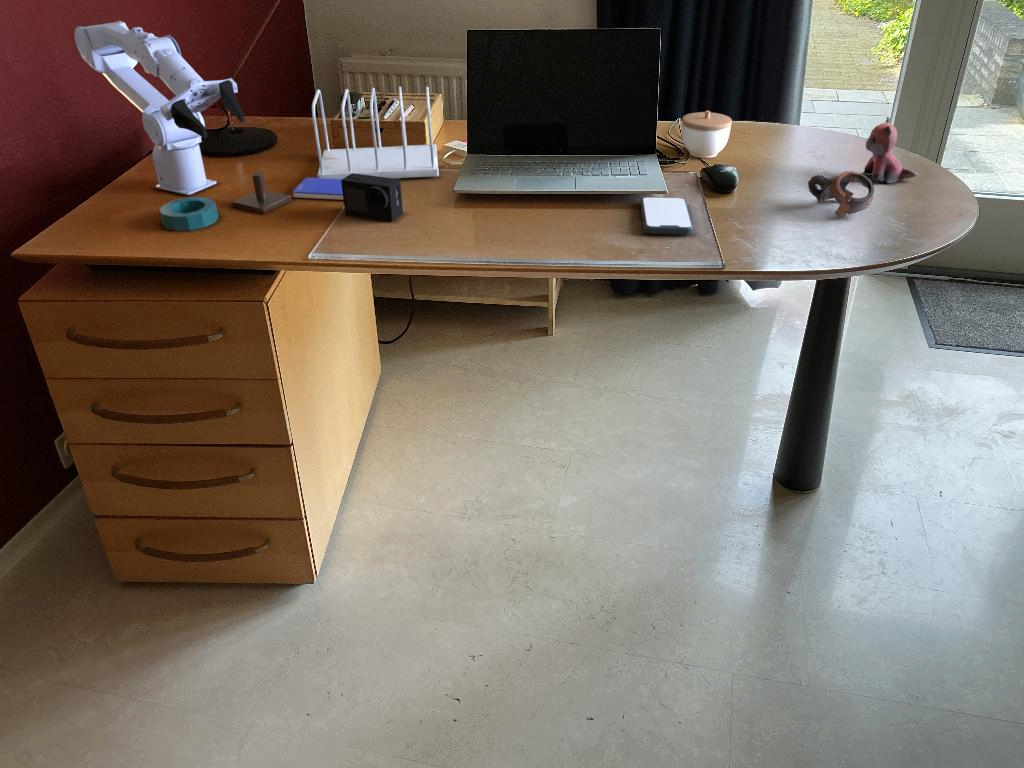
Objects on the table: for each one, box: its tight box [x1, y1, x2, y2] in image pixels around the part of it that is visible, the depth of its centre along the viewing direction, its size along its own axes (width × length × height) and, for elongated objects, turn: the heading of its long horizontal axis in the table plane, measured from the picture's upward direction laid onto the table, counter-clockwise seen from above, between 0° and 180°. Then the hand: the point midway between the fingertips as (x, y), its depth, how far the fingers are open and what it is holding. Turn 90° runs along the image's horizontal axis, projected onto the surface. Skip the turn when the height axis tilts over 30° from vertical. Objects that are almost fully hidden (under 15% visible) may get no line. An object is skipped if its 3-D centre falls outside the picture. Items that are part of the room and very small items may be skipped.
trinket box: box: [681, 110, 733, 159], centre depth 190 cm, size 11×11×9 cm
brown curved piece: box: [807, 170, 875, 219], centre depth 162 cm, size 12×9×8 cm
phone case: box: [640, 196, 694, 236], centre depth 160 cm, size 9×2×16 cm
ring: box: [158, 196, 219, 232], centre depth 161 cm, size 10×10×3 cm
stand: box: [232, 171, 292, 215], centre depth 167 cm, size 8×8×6 cm
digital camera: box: [341, 173, 404, 222], centre depth 161 cm, size 10×5×7 cm, turn 68°
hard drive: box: [292, 177, 344, 201], centre depth 173 cm, size 2×8×12 cm
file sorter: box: [311, 86, 440, 179], centre depth 182 cm, size 25×17×16 cm
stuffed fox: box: [862, 116, 920, 184], centre depth 174 cm, size 8×11×12 cm
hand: (224, 125), depth 156 cm, fingers open, 7 cm apart
